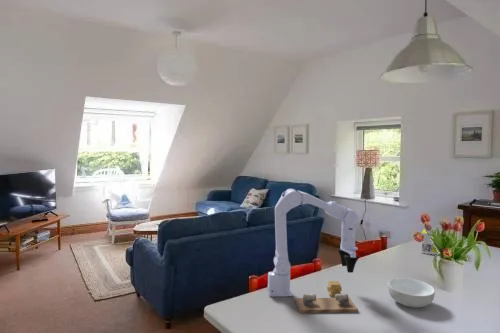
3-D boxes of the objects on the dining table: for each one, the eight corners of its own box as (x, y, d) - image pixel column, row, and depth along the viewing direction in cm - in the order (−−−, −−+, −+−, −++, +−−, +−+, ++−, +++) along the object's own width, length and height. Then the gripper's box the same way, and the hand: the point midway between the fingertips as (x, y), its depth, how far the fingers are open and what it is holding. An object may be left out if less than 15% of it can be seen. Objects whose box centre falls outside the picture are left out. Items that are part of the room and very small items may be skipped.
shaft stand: (299, 312, 132) (299, 300, 132) (295, 301, 142) (295, 289, 142) (357, 312, 133) (358, 299, 132) (349, 300, 143) (349, 288, 142)
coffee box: (444, 256, 200) (445, 235, 199) (420, 253, 206) (421, 232, 205) (445, 251, 211) (446, 230, 210) (422, 248, 217) (423, 228, 216)
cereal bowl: (378, 298, 145) (378, 281, 145) (408, 291, 152) (409, 275, 151) (412, 316, 130) (412, 298, 129) (444, 308, 136) (444, 290, 136)
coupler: (328, 296, 146) (329, 284, 146) (326, 292, 150) (326, 281, 150) (342, 296, 147) (342, 284, 146) (339, 292, 151) (339, 281, 150)
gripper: (363, 242, 142) (362, 275, 143) (351, 233, 157) (351, 263, 158) (346, 242, 142) (345, 275, 143) (336, 233, 156) (335, 263, 157)
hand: (347, 269), depth 150 cm, fingers open, 7 cm apart
